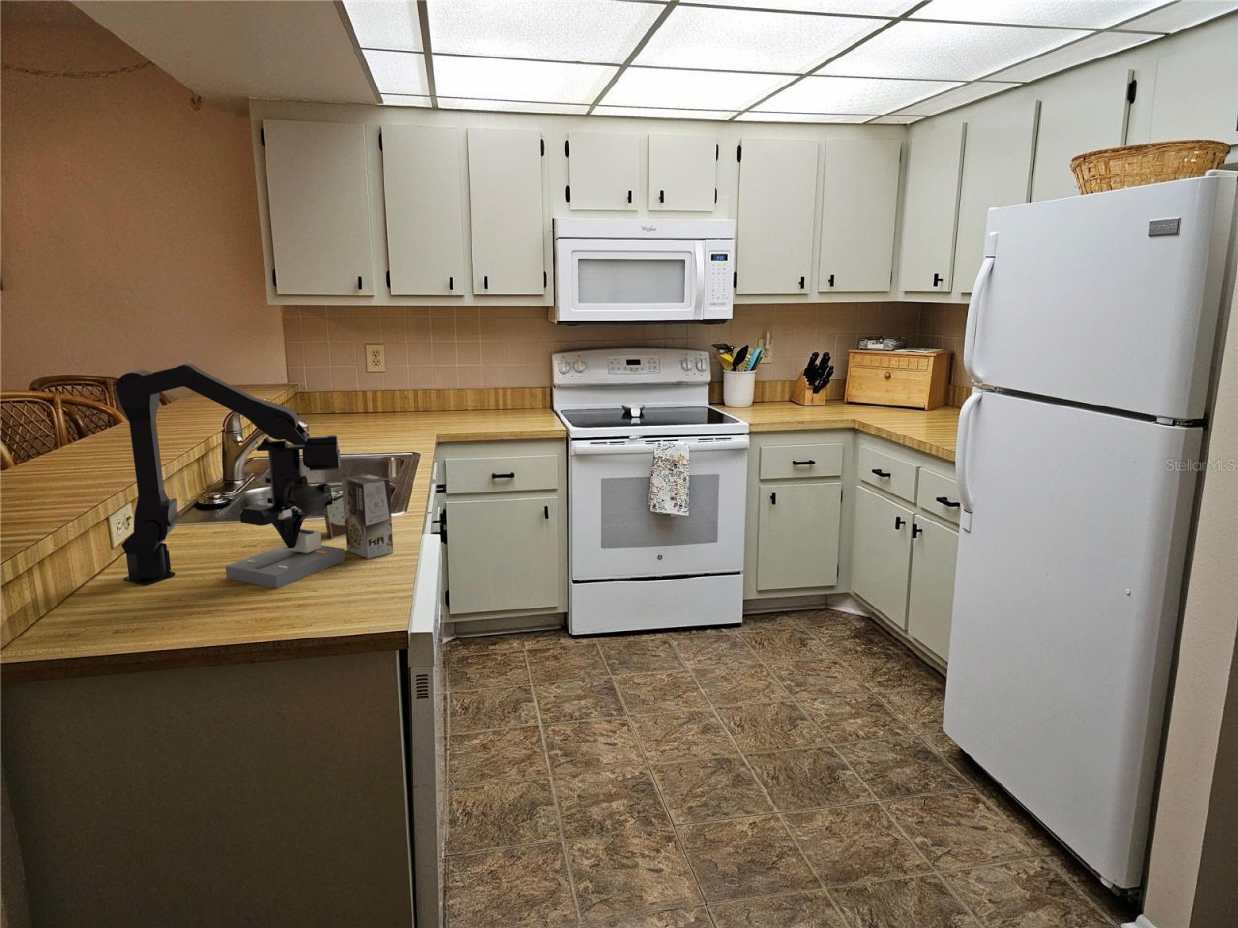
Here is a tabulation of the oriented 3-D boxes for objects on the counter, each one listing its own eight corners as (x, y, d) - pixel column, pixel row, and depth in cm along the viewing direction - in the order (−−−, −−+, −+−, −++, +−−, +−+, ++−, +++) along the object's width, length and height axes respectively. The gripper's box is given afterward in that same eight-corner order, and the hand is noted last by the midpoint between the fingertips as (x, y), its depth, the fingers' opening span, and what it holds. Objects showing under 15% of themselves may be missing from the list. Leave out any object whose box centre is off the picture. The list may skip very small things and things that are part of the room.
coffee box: (394, 552, 172) (391, 478, 169) (367, 559, 168) (363, 483, 165) (372, 543, 179) (368, 472, 175) (345, 550, 174) (340, 477, 171)
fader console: (277, 588, 151) (276, 574, 150) (226, 578, 156) (225, 565, 155) (345, 560, 167) (344, 547, 167) (297, 552, 172) (296, 540, 172)
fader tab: (306, 552, 162) (305, 533, 162) (288, 549, 164) (286, 530, 164) (321, 547, 166) (320, 528, 165) (302, 544, 168) (301, 525, 167)
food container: (355, 523, 194) (353, 483, 192) (371, 528, 191) (369, 486, 189) (310, 535, 184) (306, 492, 182) (326, 540, 181) (323, 496, 179)
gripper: (278, 485, 147) (285, 567, 150) (350, 466, 164) (355, 540, 167) (234, 479, 152) (241, 559, 155) (309, 461, 168) (314, 534, 171)
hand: (291, 547), depth 162 cm, fingers closed
